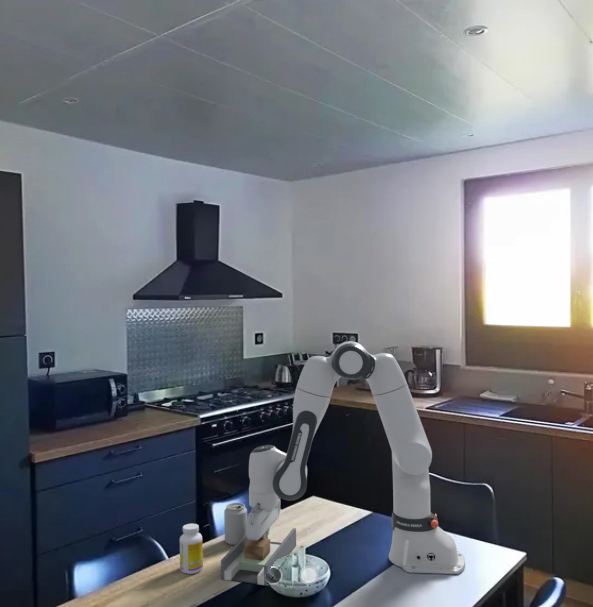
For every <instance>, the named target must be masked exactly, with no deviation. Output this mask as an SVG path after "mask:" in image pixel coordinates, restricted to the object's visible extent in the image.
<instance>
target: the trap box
mask: <svg viewBox="0 0 593 607" xmlns="http://www.w3.org/2000/svg"><path fill="white" fill-rule="evenodd" d="M247 541H248V539H247V536H246V535H245V536H244V537H243V538H242V539H241V540H240V541H239V542H238V543H237V544H236V545H233V547H232V548H231V549H230V550H229V551H228V552H227V553H226V554H225V556H223V557H222V558H221V560H220V579H221V580H223V579H224V580H223V581H230V582H231V581H232V582H238V583H244V584H254V585H260V586H261V585H262V586H267V587H268V586H269V584H267V583H266V581H265V575H266V574H268V571H269V569H270V568H271V566H273V564H274V562H275V561H276V560H277V559H279V558H281V557H284V556H287V555H289V554H290V553H292V552H293V550H294V549H295V548H296V546H297V528H295V527H292V529H291V530H290V531H289V533H288V534H287V535H286V537H285V538H284V539H283V541H282V542H280V541H279V542H277V541H270V553H269V554H268V556H267V557H266V558H265V559H264V560H263V561H262V560H254V559H246V558H244V545H245V544H246V543H247ZM290 555H291V554H290ZM290 555H289V556H290Z"/></svg>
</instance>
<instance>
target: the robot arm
mask: <svg viewBox="0 0 593 607" xmlns="http://www.w3.org/2000/svg"><path fill="white" fill-rule="evenodd" d="M301 370H302V371H301V372H300V375H299V379H298V380H297V384H296V388H295V392H294V397H293V403H292V404H293V406H292V433H291V436H290V440H289V444H288V449H287V451H286V452H284V451H281V450H280V449H278V448H277V447H276V446H275V445H272V444H265V445H260V446H257V447H255V448H254V449H253V450H252V451H251V452H250V455H249V460H248V477H249V487H248V505H249V506H250V508H251V510H250V512H249V513H247V530H246V536H247V539H248V540H256V541H257V540H259V538H264V539H269V534H270V528H271V527H272V526H273V524H274V523H276V521H277V520H278V519H279V517H280V514H281V513H280V512H281V499H282V500H285V501H287V502H289V501H290V502H291V501H297V500H299V499H300V498H302V497H303V496H304V495H305V493H306V491H307V487H308V478H307V477H308V466H307V463H308V458H309V455H310V452H311V447H312V443H313V440H314V437H315V435H316V433H317V430H318V429H319V426H320V424H321V422H322V420H323V418H324V417H325V414H326V412H327V411H328V410H327V409H328V407H329V404H330V401H331V398H332V394H333V390H334V388H335V387H334V386H335V385H336V382H337V381H338V380H339V379H341V378H343V379H346V380H366V382H367V384H368V386H369V388H370V392H371V394H372V397H373V400H374V403H375V406H376V409H377V411H378V414H379V417H380V420H381V422H382V425H383V429H384V432H385V434H386V437H387V438H386V439H387V440H388V443H389V447H390V449H391V462H392V463H391V464H392V465H391V468H392V490H393V492H392V494H393V495H392V496H393V497H392V498H393V502H392V503H393V510H392V512H391V529H392V537H391V538H392V539H391V546H390V550H389V553H388V559H389V561H390V562H391V563H392V564H394V565H396V566H397V567H399V568H401V569H402V570H404V572H406V573H412V574H413V573H415V574H416V573H417V574H446V575H447V574H448V575H458V574H460V573H462V572H463V571H464V570H465V567H466V559H465V556H464V555H463V554H462V553H461V552H460V551H458V550H457V545H456V544H457V543H456V542H455V539H454V538H453V537H452V536H451V535H450V534H448V533H447V532H446V531H444V530H443V529H442V528H441V527H440V526H439V521H438V517H437V516H438V515H437V513H435V514H434V513H433V512H431V484H430V470H429V467H430V466H431V463H432V459H433V451H432V448H431V445H430V442H429V440H428V437H427V435H426V432H425V428H424V426H423V424H422V421H421V418H420V416H419V413H418V410H417V408H416V405H415V402H414V399H413V396H412V393H411V391H410V388H409V385H408V383H407V380H406V377H405V375H404V372H403V371H402V368H401V367H400V364H399V363H398V361H397V359H396V358H395V356H394V355H392V354H391V353H386V352H381V353H377V354H371V353H369V352H368V350H367V349H366V348H365V347H364V346H363V345H362V344H361V343H359V342H356V341H354V340H348V341H347V340H346V341H343V342H342V343H339V344H338V345H337V347H335V348H334V349H333V350H332V351H331V353H329V354H328V355H327V356H323V355H315V356H314V355H312V356H311V357H309V358H308V359H307V360H306V362H305V364H304V366H303V368H302V369H301Z"/></svg>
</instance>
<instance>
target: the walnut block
mask: <svg viewBox="0 0 593 607" xmlns="http://www.w3.org/2000/svg"><path fill="white" fill-rule="evenodd" d="M270 542H271V539H270V538H268V539H264V538H259V540H257V541H256V540H248V541H247V543H246V544H245V545H244V558H246V559H254V560H262V561H263V560H264V559H265V558H266V557H267V556H268V554H269V553H270Z"/></svg>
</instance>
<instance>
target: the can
mask: <svg viewBox="0 0 593 607" xmlns="http://www.w3.org/2000/svg"><path fill="white" fill-rule="evenodd" d="M223 512H224V514H223V516H224V518H223V519H224V541H225V542H226V543H227V545H229V546H230V545H231V546H235V545H236V544H237V543H238V542H239V541H240V540H241V539H242V538H243V537H244V536H245V535H246V530H247V517H248V509H247V508H246V505H245V504H244V503H242V502H231V503H228V504H227V505H226V506H225V509H224V510H223Z"/></svg>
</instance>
